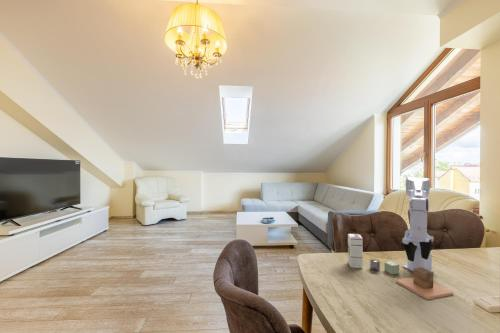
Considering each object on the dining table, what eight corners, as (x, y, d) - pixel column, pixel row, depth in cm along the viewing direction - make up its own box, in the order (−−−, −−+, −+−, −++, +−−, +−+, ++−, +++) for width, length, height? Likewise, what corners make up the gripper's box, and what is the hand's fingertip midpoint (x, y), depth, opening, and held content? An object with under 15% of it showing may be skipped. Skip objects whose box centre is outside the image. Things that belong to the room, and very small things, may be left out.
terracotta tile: (419, 278, 101) (419, 276, 101) (453, 294, 88) (453, 292, 88) (395, 282, 97) (395, 279, 97) (427, 299, 84) (427, 297, 84)
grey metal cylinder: (374, 267, 111) (375, 258, 111) (381, 271, 107) (382, 262, 107) (368, 268, 110) (368, 259, 110) (374, 272, 106) (374, 263, 106)
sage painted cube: (391, 269, 109) (391, 261, 109) (399, 273, 105) (399, 264, 105) (384, 270, 108) (384, 262, 108) (391, 274, 104) (392, 265, 104)
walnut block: (421, 282, 95) (422, 267, 95) (433, 287, 91) (433, 272, 91) (413, 283, 94) (413, 268, 94) (424, 289, 90) (424, 273, 90)
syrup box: (363, 268, 109) (363, 237, 109) (349, 267, 111) (350, 236, 111) (359, 263, 115) (360, 234, 115) (347, 262, 116) (347, 233, 116)
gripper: (414, 230, 91) (413, 265, 92) (441, 228, 95) (440, 261, 96) (398, 226, 98) (397, 258, 98) (424, 223, 102) (423, 255, 102)
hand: (417, 259), depth 97 cm, fingers open, 7 cm apart
